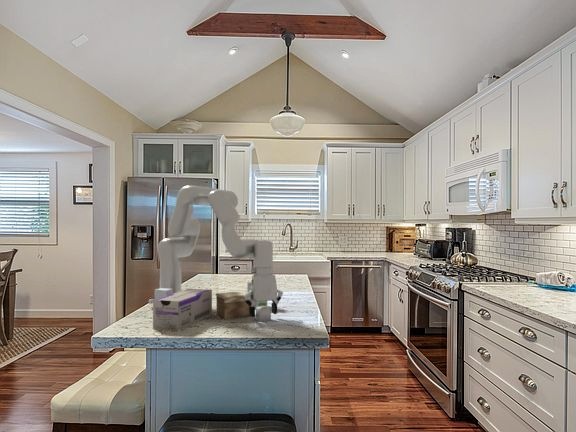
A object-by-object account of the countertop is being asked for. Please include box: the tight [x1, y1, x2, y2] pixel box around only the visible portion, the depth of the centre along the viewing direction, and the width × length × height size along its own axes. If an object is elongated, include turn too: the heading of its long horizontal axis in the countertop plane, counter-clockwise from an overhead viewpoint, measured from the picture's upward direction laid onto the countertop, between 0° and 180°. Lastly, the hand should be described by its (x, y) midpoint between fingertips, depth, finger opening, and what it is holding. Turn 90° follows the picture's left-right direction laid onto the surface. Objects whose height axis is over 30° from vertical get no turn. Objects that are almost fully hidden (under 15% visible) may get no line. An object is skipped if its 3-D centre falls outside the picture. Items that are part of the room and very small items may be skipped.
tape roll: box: [255, 305, 272, 323], centre depth 152 cm, size 6×6×5 cm
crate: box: [216, 296, 251, 321], centre depth 159 cm, size 11×10×8 cm
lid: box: [215, 290, 251, 303], centre depth 159 cm, size 12×11×2 cm
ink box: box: [246, 280, 268, 309], centre depth 175 cm, size 9×5×12 cm, turn 83°
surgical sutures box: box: [152, 288, 213, 332], centre depth 149 cm, size 25×11×11 cm, turn 164°
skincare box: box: [153, 287, 173, 299], centre depth 153 cm, size 6×4×12 cm
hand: (263, 314), depth 152 cm, fingers open, 9 cm apart
